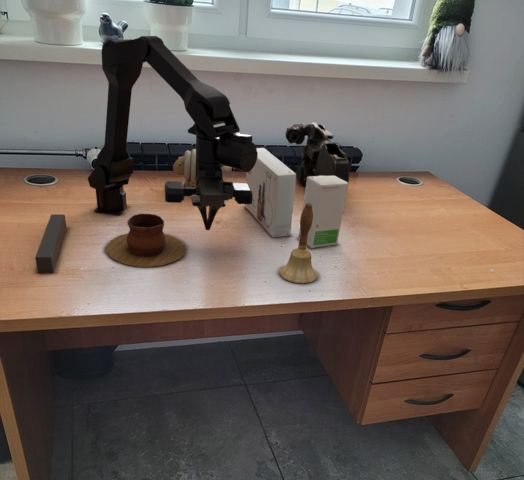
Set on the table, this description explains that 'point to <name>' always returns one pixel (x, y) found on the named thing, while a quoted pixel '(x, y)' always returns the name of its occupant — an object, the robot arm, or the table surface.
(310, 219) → the hand bell
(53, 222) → the rail
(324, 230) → the cosmetic box
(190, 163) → the toy sheep
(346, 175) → the movie camera
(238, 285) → the table surface
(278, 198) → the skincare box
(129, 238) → the ceramic pot
